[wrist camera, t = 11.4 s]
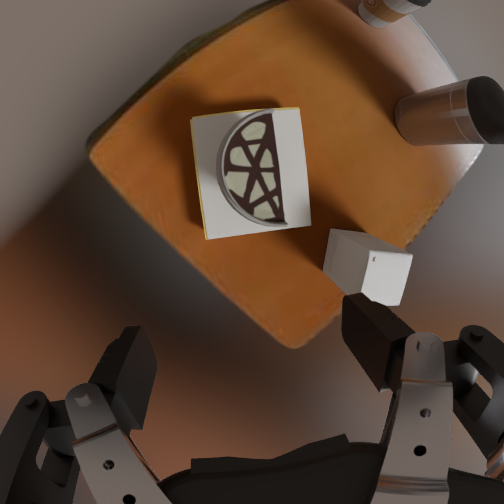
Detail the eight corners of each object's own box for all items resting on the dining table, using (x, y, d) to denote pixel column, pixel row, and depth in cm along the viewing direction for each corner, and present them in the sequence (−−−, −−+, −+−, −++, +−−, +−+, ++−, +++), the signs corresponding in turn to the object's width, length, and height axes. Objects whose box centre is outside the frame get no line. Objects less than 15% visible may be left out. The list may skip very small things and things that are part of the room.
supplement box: (321, 272, 43) (354, 307, 31) (329, 227, 41) (369, 248, 29) (359, 274, 44) (399, 307, 32) (368, 232, 42) (414, 254, 30)
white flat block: (291, 113, 36) (298, 107, 32) (302, 220, 40) (311, 225, 37) (192, 122, 35) (189, 117, 31) (207, 233, 39) (205, 239, 36)
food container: (211, 128, 32) (207, 110, 22) (259, 122, 32) (273, 103, 23) (224, 222, 35) (225, 239, 26) (270, 215, 36) (289, 230, 26)
